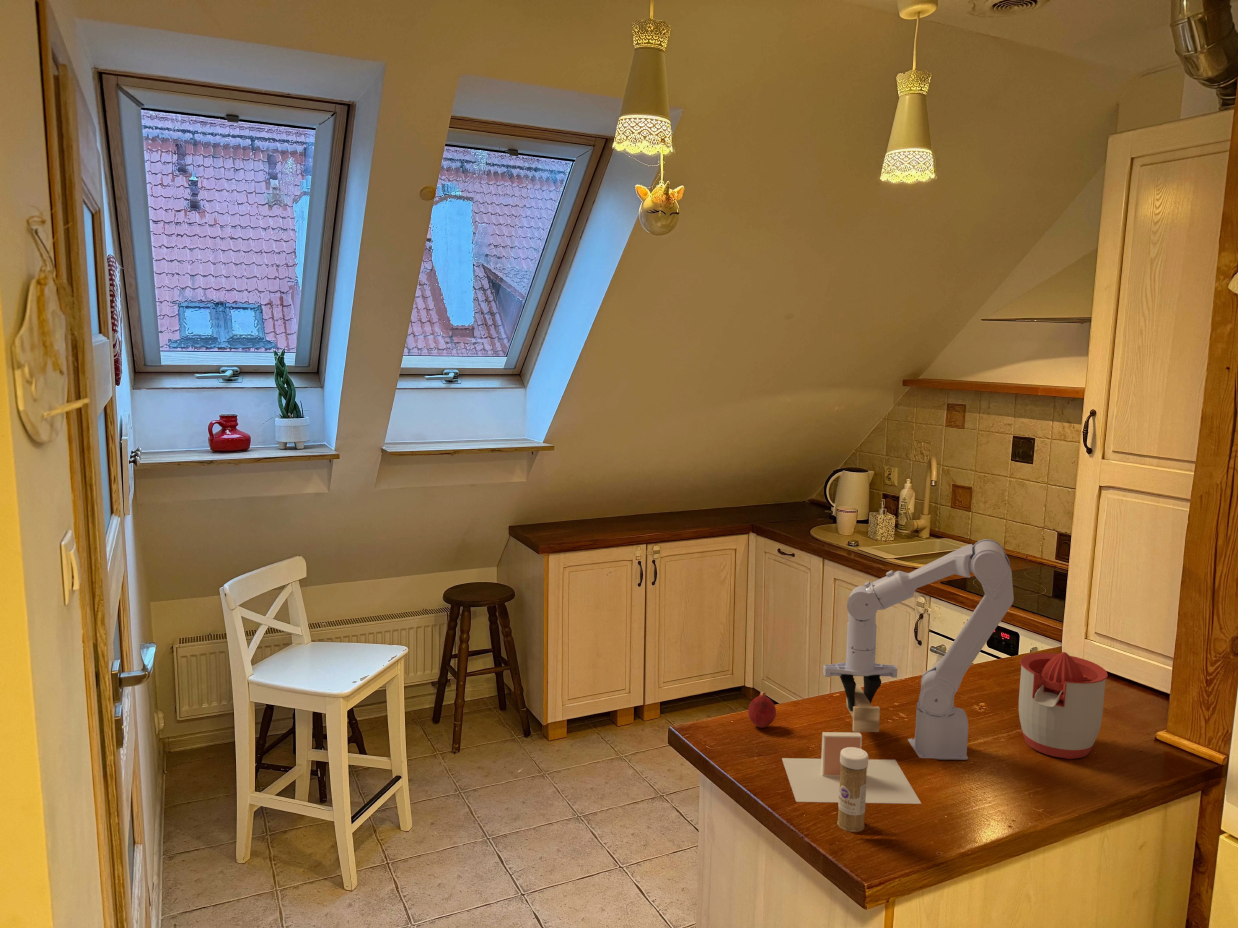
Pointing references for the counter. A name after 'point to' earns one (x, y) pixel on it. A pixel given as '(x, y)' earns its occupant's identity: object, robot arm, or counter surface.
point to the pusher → (864, 713)
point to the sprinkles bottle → (852, 789)
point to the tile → (836, 750)
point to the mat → (813, 787)
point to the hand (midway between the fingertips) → (858, 709)
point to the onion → (762, 711)
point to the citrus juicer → (1061, 703)
